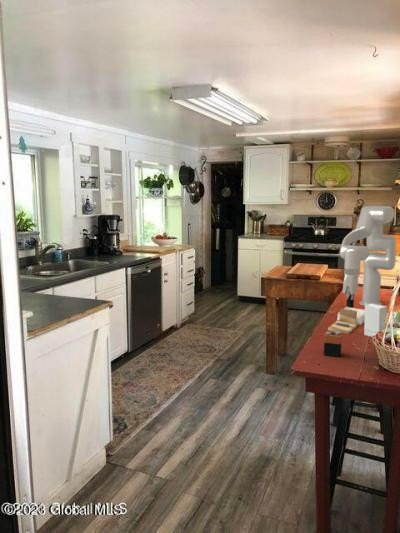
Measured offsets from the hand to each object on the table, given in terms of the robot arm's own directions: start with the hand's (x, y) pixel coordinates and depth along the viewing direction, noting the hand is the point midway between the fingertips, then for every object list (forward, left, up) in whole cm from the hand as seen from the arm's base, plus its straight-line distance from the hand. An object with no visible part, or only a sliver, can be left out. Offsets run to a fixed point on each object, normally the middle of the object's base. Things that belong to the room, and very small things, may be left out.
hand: (350, 306), depth 223 cm
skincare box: (+13, +16, -9) cm, 23 cm away
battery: (+48, +8, -9) cm, 50 cm away
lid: (+9, 0, -9) cm, 13 cm away
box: (-9, 0, -9) cm, 12 cm away
